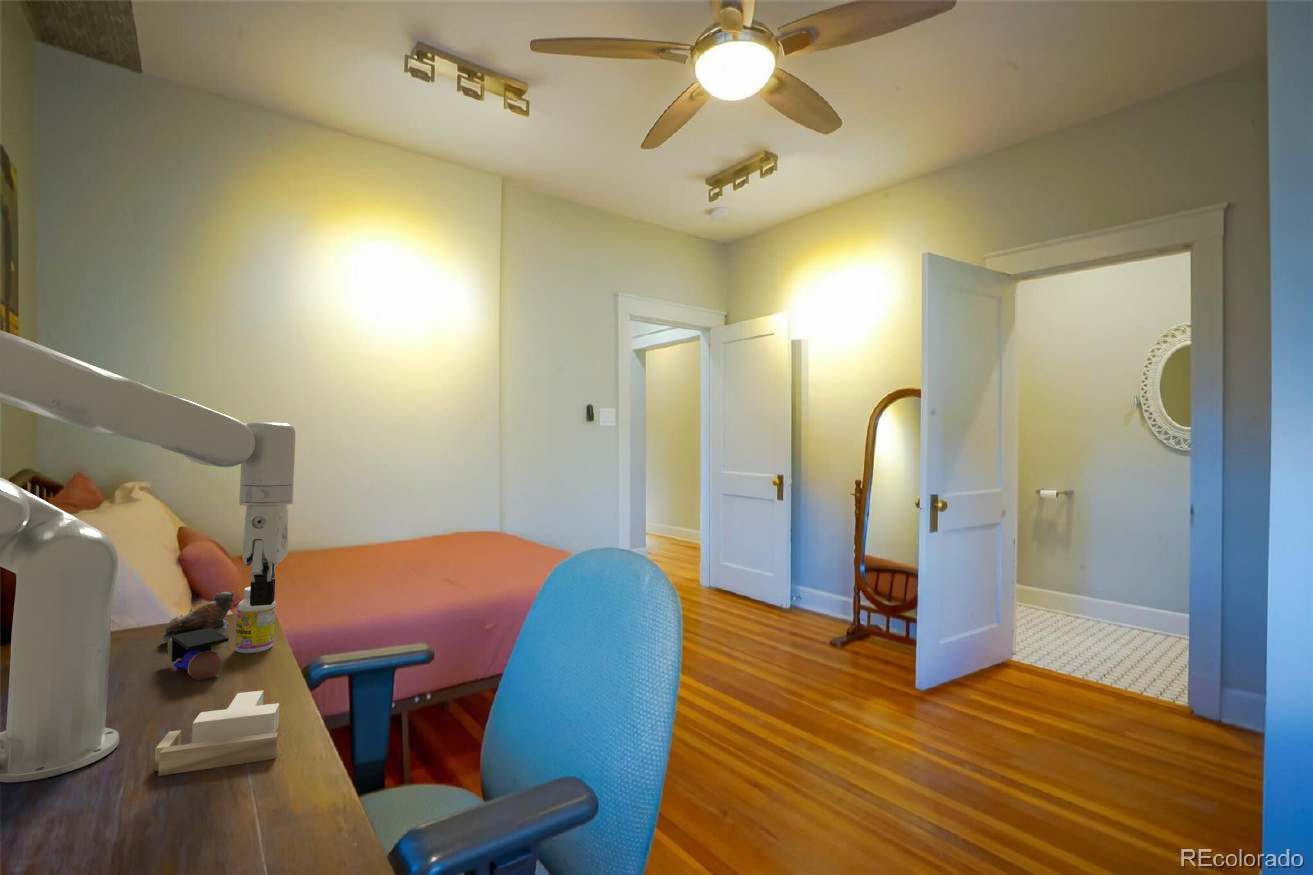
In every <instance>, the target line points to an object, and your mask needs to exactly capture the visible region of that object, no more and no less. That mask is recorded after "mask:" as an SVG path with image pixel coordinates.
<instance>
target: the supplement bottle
mask: <svg viewBox="0 0 1313 875" xmlns="http://www.w3.org/2000/svg"><path fill="white" fill-rule="evenodd" d="M250 588H251V585H250V586H247V587H245V588H244V589H243V595H244V599H243V600H241V601H239V603H238V604H237V612H236V613H237V615H236V627H235V628H236V630H235V647H234V649H235V652H238V653H241V654H254V653H260V652H264V651H266V650H269V649H271V647H273V645H274V641H275V640H274V638H275V618H276V600H275V599H274V602H273V603H272V604H271V605H262V606H251V605H250Z"/></svg>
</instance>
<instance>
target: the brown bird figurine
mask: <svg viewBox="0 0 1313 875" xmlns="http://www.w3.org/2000/svg"><path fill="white" fill-rule="evenodd" d="M234 596H235V591H234V590H233V591H232V592H230V591H222V592H221V591H220V592H219V591H218V592H217V593H216V596H215V598H213V600H212V601H207V602H205V603H203V604H201V605H200V606H198V607H197V608H195V609H194V610H191V611H190V612H187V614H185V615H184V616H183V614H178V615H176V616H175V617H174V618H171V620H170V621H169V622H168V623H167V625H166V627H165V632H164V633H163V634H162V637H161V638H162V640H163V641H164V642H166V643H168V640H169V639H171V638H172V636H173V635H178V634H182V633H187V632H192V631H197V630H202V629H207V628H212V629H213V630H215V631H217V632H219V633H220V634H222V635H224V636H226V635H227V634H228V632H229V629H230V623H229V622H228V621H227V620H225V617H226V615H228V613H229V611H230V610H231V609H232V607H233V602H234V598H233V597H234Z"/></svg>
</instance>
